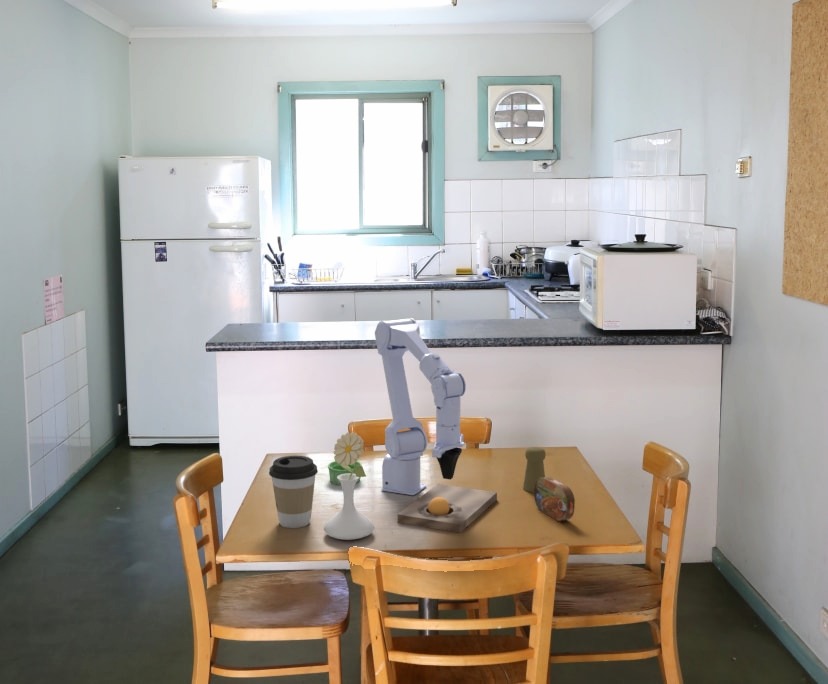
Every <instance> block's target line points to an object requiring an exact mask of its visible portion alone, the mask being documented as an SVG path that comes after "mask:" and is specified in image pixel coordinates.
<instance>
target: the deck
mask: <svg viewBox="0 0 828 684" xmlns="http://www.w3.org/2000/svg"><path fill="white" fill-rule="evenodd" d="M436 497H442V498H444V499H446V500H447V502H448V503H449V512H448V514H447V515H433V514H430V512H429V509H428V506H429V503H430V501H431V500H432V499H434V498H436ZM497 499H498V493H497V491H490V490H482V489H477V488H476V489H475V488H470V487H463V486H455V485H450V484H449V485H448V484H443V483H441V484H440V483H437V484H436V485H434V486H433V487H432V488H431V489H429V490H428V491H426V492H425V493H424V494H422V495H421V496H420V497H418V498H417V499H416V500H414V501H413V502H412V503H410V504H409V505H408V506H407V507H405V508H404V509H403V510H401V511H400V512H399V513H397V523H400V524H406V525H410V524H412V525H411V526H416V525H418V526H419V527H423V526H425V527H424V528H430V529H435V530H441V531H447V530H448V532H454V533H460V532H461V533H462V532H464V530H465V529H467V528H468V527H469V526H470V525H471V524H472V523H473V522H474V521H475V520H476V519H477V518H479V517H480V516H481V515H482V514H483V513H484V512H485V511H487V509H489V508H490V507H491V506H492V505H493V504H494V503H495V502H497ZM490 505H491V506H490ZM488 507H489V508H488ZM418 526H417V527H418ZM467 526H468V527H467ZM466 527H467V528H466ZM461 533H460V534H461Z"/></svg>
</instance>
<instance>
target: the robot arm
mask: <svg viewBox="0 0 828 684" xmlns="http://www.w3.org/2000/svg"><path fill="white" fill-rule="evenodd" d="M420 331H421V330H420V325H419V324H418V323H417V321H416V320H415V319H414V318H412V317H407V318H402V319H394V320H392V319H391V320H380V321H379V322H378V323H377V325H376V328H375V330H374V337H375V342H376V343H375V344H376V348H377V353H378V355H380V356H381V359H382V364H383V365H382V366H383V370H384V376H385V382H386V388H387V394H388V398H389V399H388V400H389V405H390V410H391V416H392V420H391V422H390V423H389V424H388V425H387V426H386V428H385V429H384V434H385V437H384V439H385V440H384V447H385V450H386V453H387V454H385V456H384V458H383V461H382V465H381V468H382V469H381V473H382V479H381V480H382V487H381V488H380V490H381V491H383V492H387V493H388V492H389V493H396V494H402V495H409V496H415V495H417V494H418V493H420V492H421V491H422V490H423V489H425V488H426V487H427V484H426V483H421V457H423V456H424V452H426V450H427V447H428V444H429V442H428V436H427V433H426V432H425V429H424V426H423V423H422V422H421V421H420V420H418V419H417V418H415V417H414V416H413V410H412V409H413V408H412V405H411V399H410V394H409V388H408V383H407V381H408V380H407V377H406V371H405V365H404V359H403V358H404V355H405V353H406V352H408V351H409V352H410V353H411V355H413V356H414V357H415V358H416V359H417V360H418V362H419V366H418V367H419V370H420V372H421V373H422V374H423V375H424V377H425V378H426V379H427V381H428V382H429V383H430V384H431V386H430V388H431V393H432V396H433V403H434V406H436V408H435V409H436V411H435V412H436V413H435V414H436V415H435V419H436V421H435V427H436V428H435V432H436V433H435V438H436V439H435V442H434V446H433V448H432V449H431V456H432V458H435V459H436V460H437V462H438V464H439V468H440V471H441V475H442V479H443V480H444V479H445V480H452V479H453V478H454V476H455V471H456V467H457V463H458V460H459V458H460V457H461V456H460V455H461V454H462V451H463V449H462V447H464V446H465V445H466V443H465V442H464V434H463V433H461V397H463V396H464V395H465V393H466V389H467V388H466V381H465V378H464V377H463V374H462V373H461V372H459V371H454V370H452V369H451V368H450V367H449V366H448V365H447V363H446V362H445V361H444V360H443V359H442V358H441V356H440V355H439V354H438V353H435V352H431V351H430V349H429V347H428V346H427V345H426V343H425V341H424V340H423V338H422V337H421V335H420V334H421V332H420ZM406 429H407V430H406ZM400 430H401V431H400Z"/></svg>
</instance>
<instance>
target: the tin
mask: <svg viewBox="0 0 828 684" xmlns="http://www.w3.org/2000/svg"><path fill="white" fill-rule="evenodd" d="M533 497H534V501H535V504H536V507H537V508H538V510H539V511H541V512H542V513H543V514H545V515H547V516H549V517H550V518H552V519H553V520H555V521H556V522H563V521H568V520H570V519H571V518H573V516H574V514H575V508H576V507H575V504H576V503H575V502H576V499H575V495H574V492H573V491H572V489H571V488H570V487H569V486H567V485H566V484H564V483H562V482H560V481H558V480H556V479H555V478H553V477H548V476H547V477H546V476H545V478H543V477H541V478H539V479H537V481H536V483H535V486H534V493H533Z"/></svg>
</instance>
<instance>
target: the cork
mask: <svg viewBox="0 0 828 684" xmlns="http://www.w3.org/2000/svg"><path fill="white" fill-rule="evenodd" d="M524 454H525V455H524V456H525V459H526V465H525V466H526V467H525V472H524V479H523V487H522V489H523V491H525V492H527V493H533V494H534V486H535V483H536V481H537V479H539V478H541V477H543V478H545V477H546V473H545V466H544V465H545V464H544V460H545V459H546V450H545V449H544V448H543V447H540V446H530V447H527V449H526V450H525V453H524Z"/></svg>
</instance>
